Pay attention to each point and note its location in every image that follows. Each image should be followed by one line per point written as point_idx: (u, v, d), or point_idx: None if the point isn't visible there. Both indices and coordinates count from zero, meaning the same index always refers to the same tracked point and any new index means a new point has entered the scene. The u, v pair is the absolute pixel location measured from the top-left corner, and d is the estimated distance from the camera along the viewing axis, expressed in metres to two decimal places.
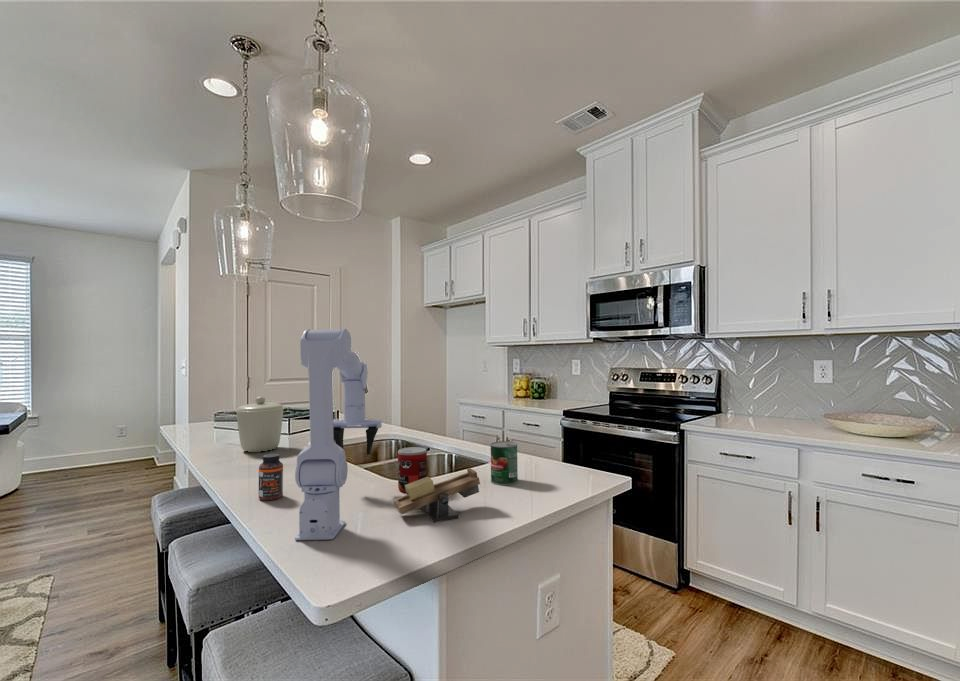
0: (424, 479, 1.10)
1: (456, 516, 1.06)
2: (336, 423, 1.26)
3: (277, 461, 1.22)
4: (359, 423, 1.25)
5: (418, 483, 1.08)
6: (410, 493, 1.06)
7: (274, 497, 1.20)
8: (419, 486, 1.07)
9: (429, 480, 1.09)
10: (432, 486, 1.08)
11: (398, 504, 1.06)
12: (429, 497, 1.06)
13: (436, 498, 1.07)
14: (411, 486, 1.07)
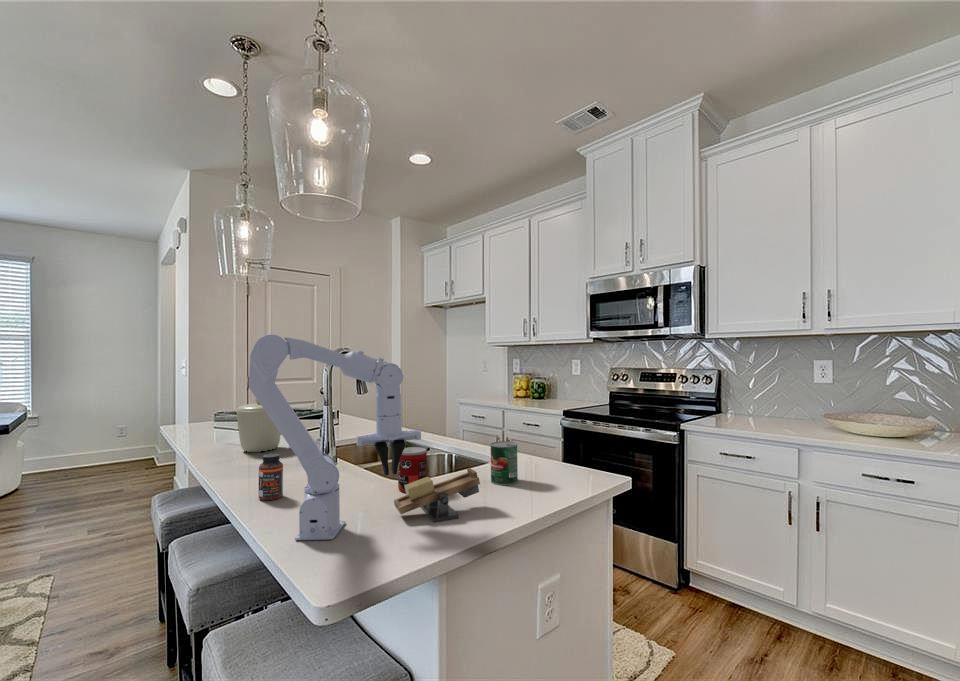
0: (423, 479, 1.10)
1: (456, 516, 1.06)
2: None
3: (277, 461, 1.22)
4: None
5: (418, 483, 1.08)
6: (410, 493, 1.06)
7: (274, 497, 1.20)
8: (419, 486, 1.07)
9: (429, 480, 1.08)
10: (432, 486, 1.08)
11: (398, 504, 1.06)
12: (429, 497, 1.06)
13: (436, 498, 1.07)
14: (411, 486, 1.07)
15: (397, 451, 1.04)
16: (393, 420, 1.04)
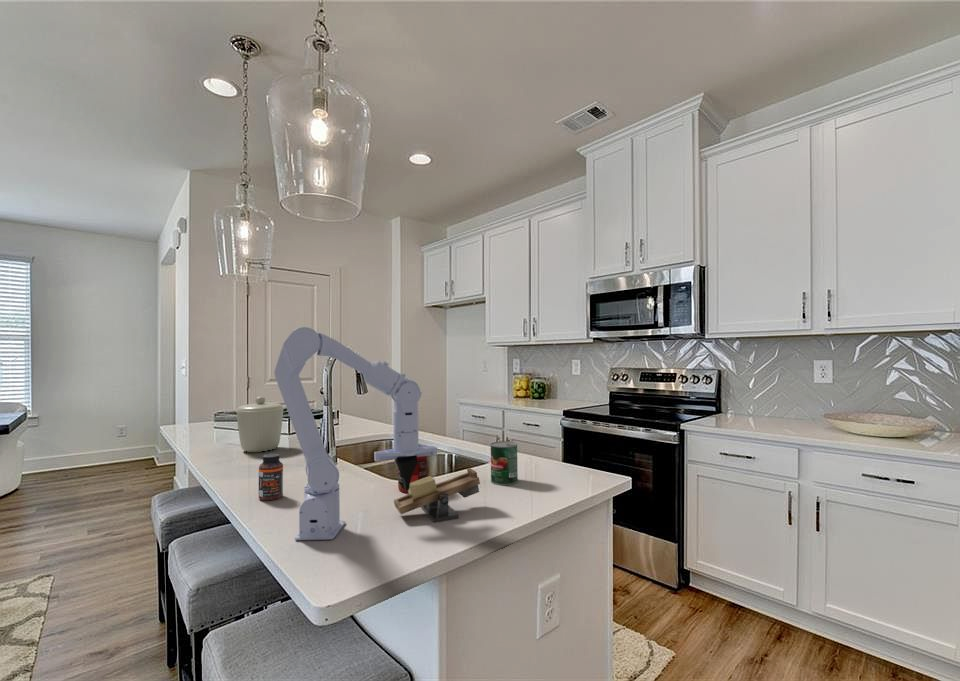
0: (426, 478, 1.10)
1: (456, 516, 1.06)
2: None
3: (277, 461, 1.22)
4: None
5: (420, 482, 1.08)
6: (412, 492, 1.06)
7: (274, 497, 1.20)
8: (421, 485, 1.07)
9: (431, 479, 1.09)
10: (434, 485, 1.08)
11: (398, 504, 1.06)
12: (429, 497, 1.06)
13: (436, 498, 1.07)
14: (413, 485, 1.07)
15: (410, 467, 1.05)
16: (410, 436, 1.05)
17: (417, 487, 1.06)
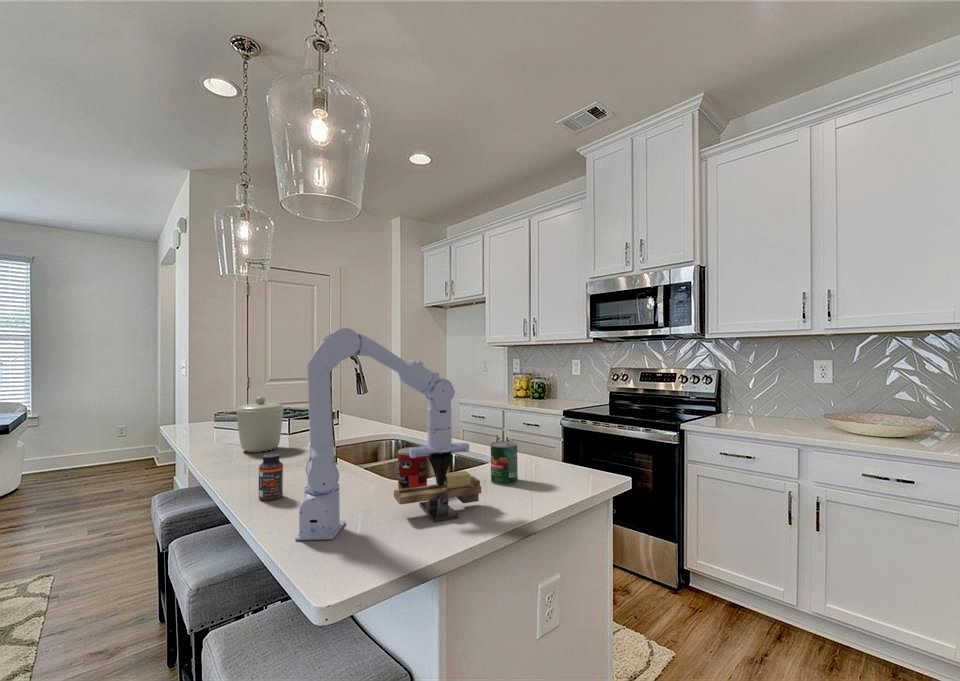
0: (461, 472, 1.14)
1: (456, 516, 1.06)
2: None
3: (277, 461, 1.22)
4: None
5: (456, 474, 1.12)
6: (448, 481, 1.09)
7: (274, 497, 1.20)
8: (457, 477, 1.10)
9: (467, 473, 1.12)
10: (469, 480, 1.12)
11: (398, 494, 1.06)
12: (430, 494, 1.06)
13: (436, 497, 1.07)
14: (449, 475, 1.11)
15: (445, 463, 1.09)
16: (445, 433, 1.08)
17: (453, 477, 1.10)
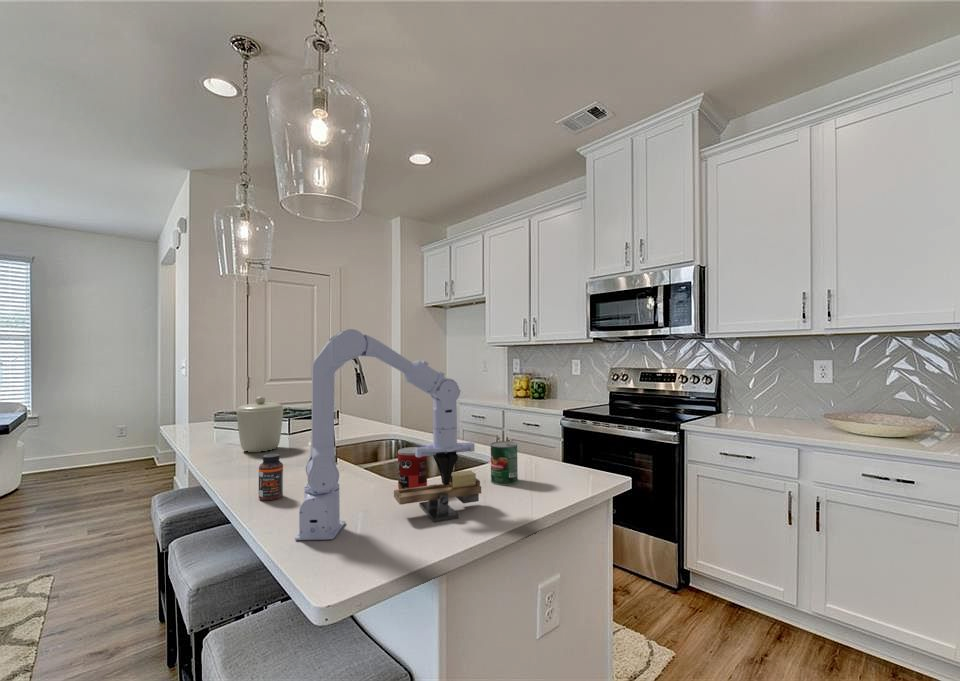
0: (466, 471, 1.14)
1: (456, 516, 1.06)
2: None
3: (277, 461, 1.22)
4: None
5: (462, 473, 1.12)
6: (453, 481, 1.10)
7: (274, 497, 1.20)
8: (462, 476, 1.11)
9: (472, 473, 1.13)
10: (474, 479, 1.12)
11: (398, 494, 1.06)
12: (430, 494, 1.06)
13: (436, 497, 1.07)
14: (455, 475, 1.11)
15: (450, 463, 1.09)
16: (450, 433, 1.09)
17: (458, 477, 1.11)
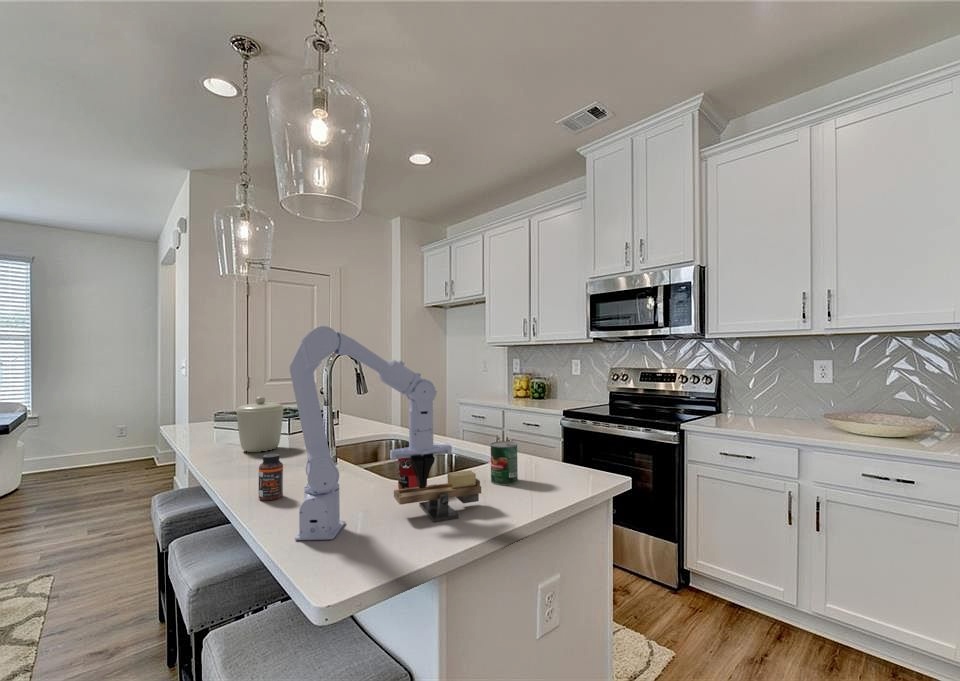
0: (466, 471, 1.14)
1: (456, 516, 1.06)
2: None
3: (277, 461, 1.22)
4: None
5: (462, 473, 1.12)
6: (453, 481, 1.10)
7: (274, 497, 1.20)
8: (462, 476, 1.11)
9: (472, 473, 1.13)
10: (474, 479, 1.12)
11: (398, 494, 1.06)
12: (430, 494, 1.06)
13: (436, 497, 1.07)
14: (455, 475, 1.11)
15: (426, 465, 1.07)
16: (426, 435, 1.07)
17: (458, 477, 1.11)
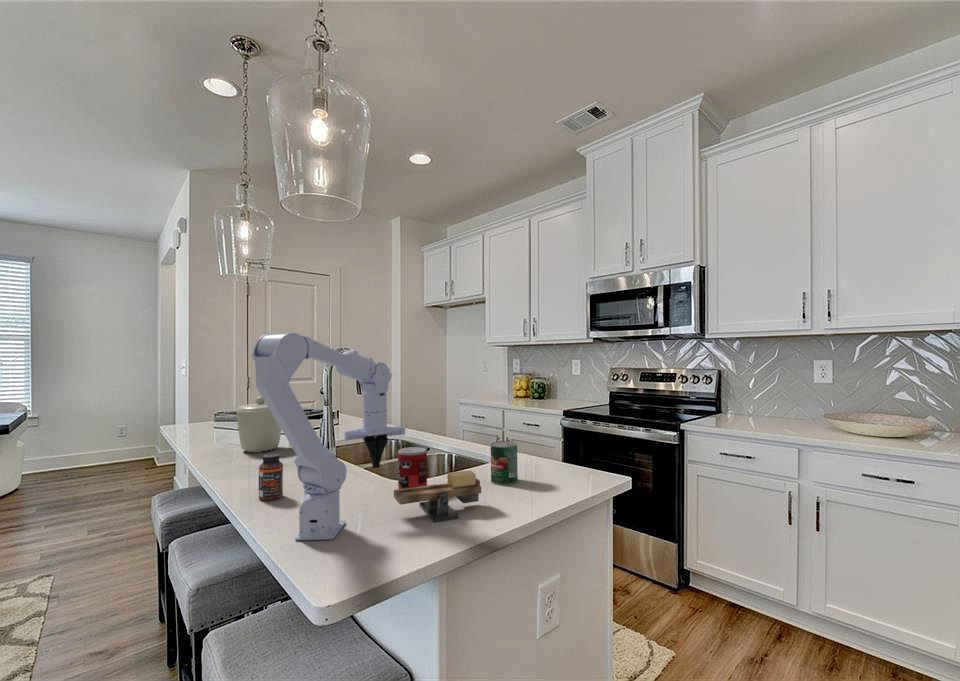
0: (466, 471, 1.14)
1: (456, 516, 1.06)
2: None
3: (277, 461, 1.22)
4: None
5: (462, 473, 1.12)
6: (453, 481, 1.10)
7: (274, 497, 1.20)
8: (462, 476, 1.11)
9: (472, 473, 1.13)
10: (474, 479, 1.12)
11: (398, 494, 1.06)
12: (430, 494, 1.06)
13: (436, 497, 1.07)
14: (455, 475, 1.11)
15: (380, 446, 1.11)
16: (379, 416, 1.10)
17: (458, 477, 1.11)
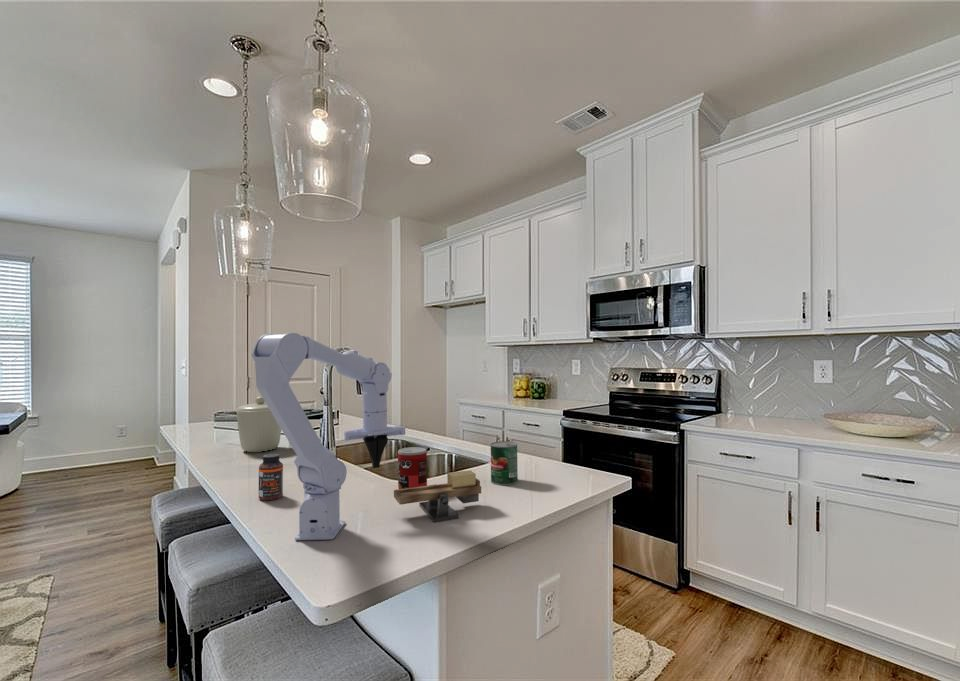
0: (466, 471, 1.14)
1: (456, 516, 1.06)
2: None
3: (277, 461, 1.22)
4: None
5: (462, 473, 1.12)
6: (453, 481, 1.10)
7: (274, 497, 1.20)
8: (462, 476, 1.11)
9: (472, 473, 1.13)
10: (474, 479, 1.12)
11: (398, 494, 1.06)
12: (430, 494, 1.06)
13: (436, 497, 1.07)
14: (455, 475, 1.11)
15: (380, 446, 1.11)
16: (379, 416, 1.10)
17: (458, 477, 1.11)
